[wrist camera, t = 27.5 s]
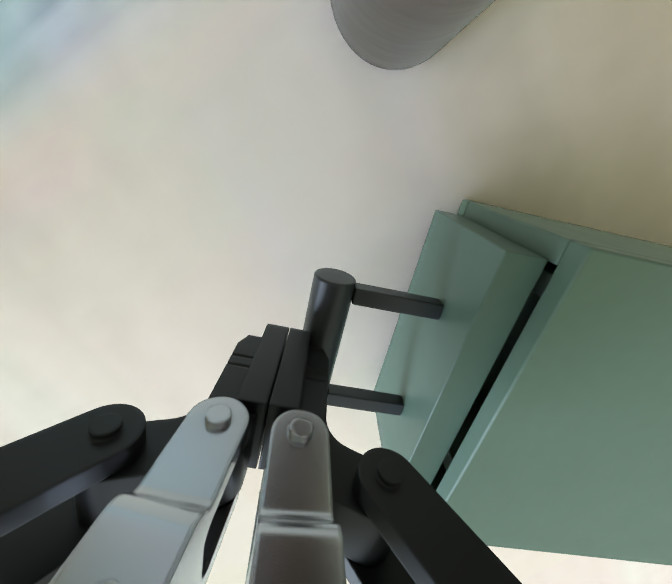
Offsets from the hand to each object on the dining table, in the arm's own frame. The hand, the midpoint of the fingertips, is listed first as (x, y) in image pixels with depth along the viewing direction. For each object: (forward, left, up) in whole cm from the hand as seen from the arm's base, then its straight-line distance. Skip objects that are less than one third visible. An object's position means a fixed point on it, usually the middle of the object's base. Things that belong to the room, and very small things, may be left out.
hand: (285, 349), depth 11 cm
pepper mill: (-7, +10, -5) cm, 13 cm away
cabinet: (+10, +8, -5) cm, 14 cm away
